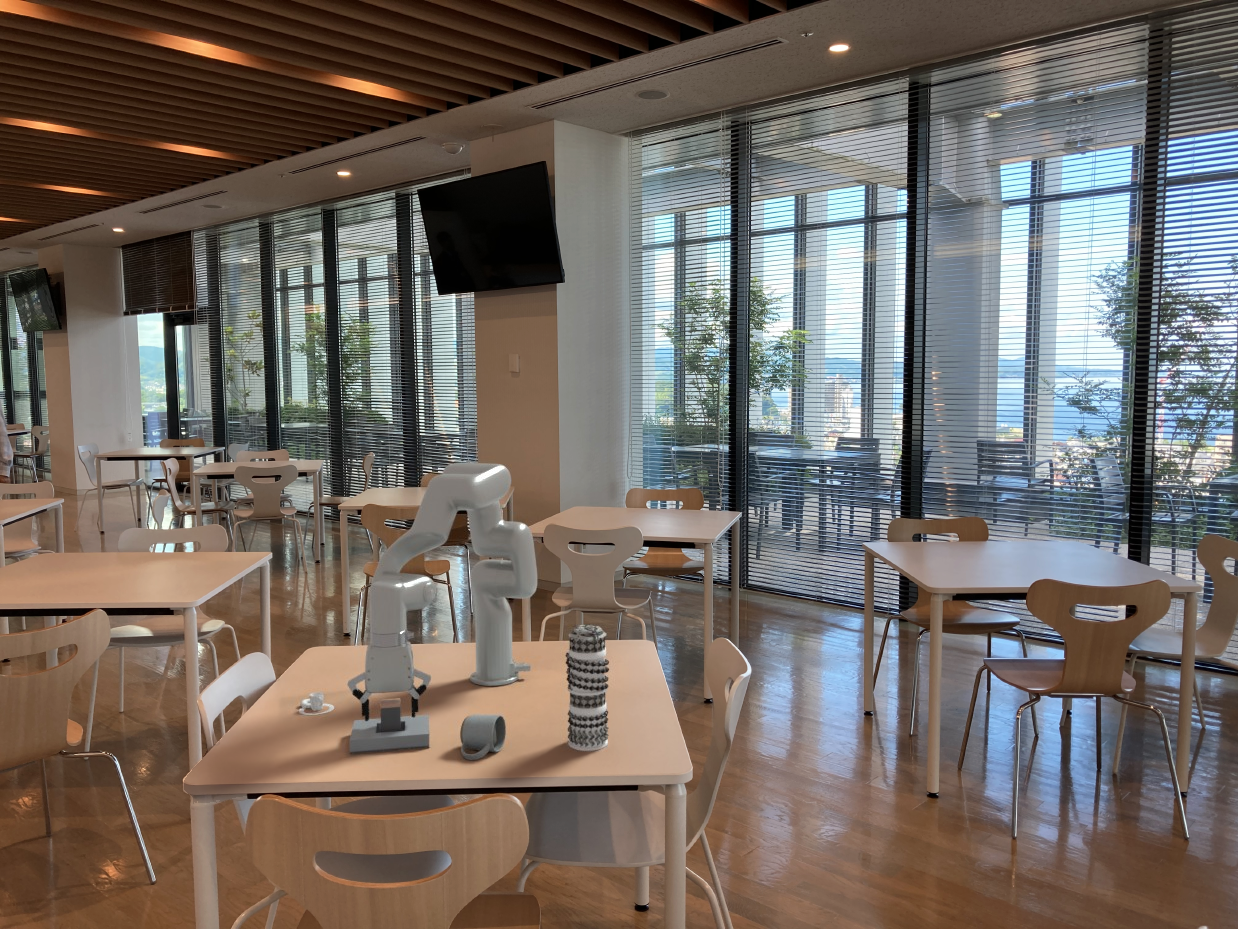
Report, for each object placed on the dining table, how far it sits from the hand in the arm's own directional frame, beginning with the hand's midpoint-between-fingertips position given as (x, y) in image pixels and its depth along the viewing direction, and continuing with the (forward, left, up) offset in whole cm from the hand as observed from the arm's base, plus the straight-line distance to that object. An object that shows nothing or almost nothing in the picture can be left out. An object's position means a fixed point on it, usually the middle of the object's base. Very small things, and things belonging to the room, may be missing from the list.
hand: (390, 717), depth 193 cm
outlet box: (0, 0, -5) cm, 5 cm away
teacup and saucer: (+17, -27, -6) cm, 33 cm away
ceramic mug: (-19, +10, -5) cm, 22 cm away
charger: (0, 0, -5) cm, 5 cm away
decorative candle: (-41, +11, -5) cm, 43 cm away
